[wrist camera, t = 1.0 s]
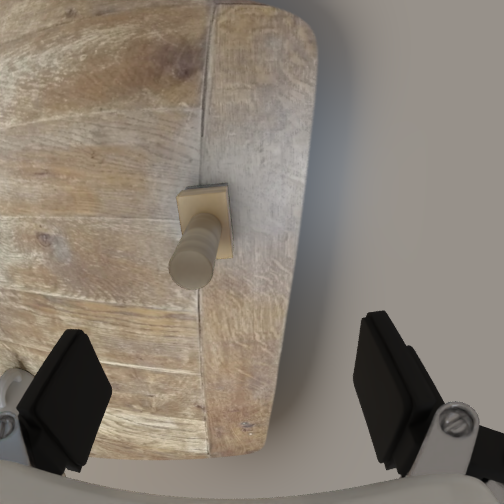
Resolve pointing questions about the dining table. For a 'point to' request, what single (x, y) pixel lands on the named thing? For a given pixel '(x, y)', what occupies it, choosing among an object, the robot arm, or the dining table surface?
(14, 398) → the cup
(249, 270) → the dining table surface
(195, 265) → the wooden stamp
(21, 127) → the dining table surface
